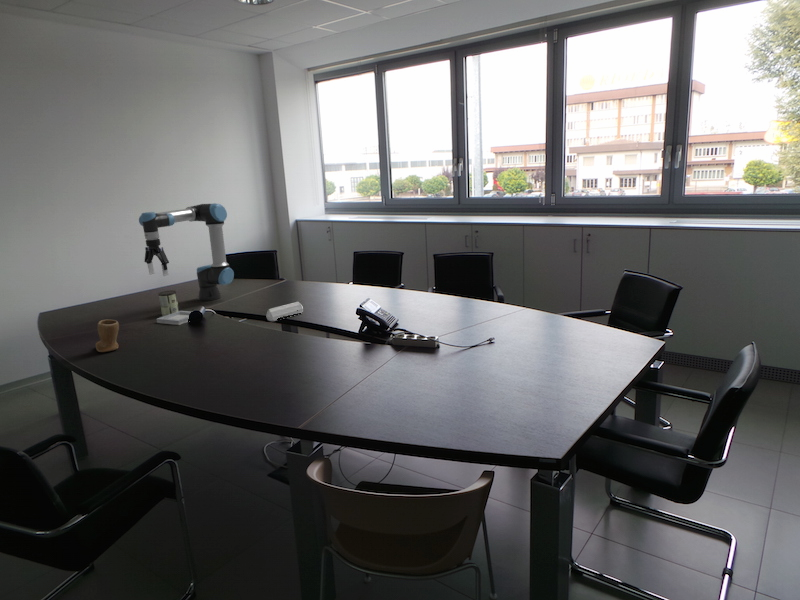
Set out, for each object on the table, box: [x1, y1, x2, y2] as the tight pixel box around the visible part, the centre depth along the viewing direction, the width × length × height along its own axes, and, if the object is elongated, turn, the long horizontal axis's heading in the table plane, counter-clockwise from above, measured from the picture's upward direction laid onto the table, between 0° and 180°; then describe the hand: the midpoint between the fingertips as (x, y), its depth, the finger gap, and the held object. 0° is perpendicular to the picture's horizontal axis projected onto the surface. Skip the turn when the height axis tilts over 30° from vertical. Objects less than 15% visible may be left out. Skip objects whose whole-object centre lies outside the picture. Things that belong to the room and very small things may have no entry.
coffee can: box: [157, 289, 180, 317], centre depth 326 cm, size 10×10×14 cm
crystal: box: [265, 301, 304, 322], centre depth 306 cm, size 7×7×24 cm
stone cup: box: [95, 319, 120, 353], centre depth 264 cm, size 15×12×15 cm
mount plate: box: [156, 310, 192, 326], centre depth 314 cm, size 18×18×2 cm
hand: (158, 274), depth 311 cm, fingers open, 13 cm apart
